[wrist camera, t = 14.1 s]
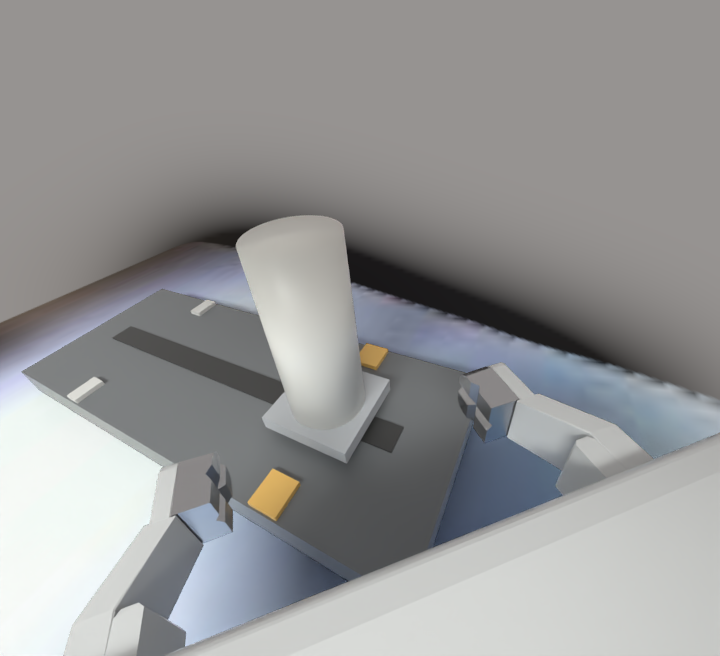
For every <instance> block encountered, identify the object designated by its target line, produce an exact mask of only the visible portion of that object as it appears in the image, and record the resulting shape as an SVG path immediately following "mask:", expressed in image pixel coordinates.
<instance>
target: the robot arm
mask: <svg viewBox="0 0 720 656" xmlns="http://www.w3.org/2000/svg"><path fill="white" fill-rule="evenodd" d="M459 383H460V385H461V386H462V387H461V388H460V390H459V391H458V402H459V406H460V408H461V410H462V412H463V413H464V415H465V416H466V417H467V418H469V419H471V420H473V421H474V425H473V428H474V429H475V431H476V432H477V433H478V435H479V436H480V438H481V439H482V441H483V442H484V443H487V442H490V441H493V440H496V439H499V438H502V437H505V436H507V438H509V439H511V440H512V441H514V442H516V443H517V444H519V445H521V446H522V447H524V448H525V449H527V450H529V451H530V452H532V453H534V454H535V455H537V456H539V457H540V458H542V459H544V460H545V461H547V462H548V463H550V464H552V465H553V466H555V467H557V468H558V469H560V470H562V471H561V473H560V475H559V477H558V479H557V481H556V488H557V489H558V490H559V491H560V493H561V494H562V495H563V496H561V497H558V498H556V499H553V500H551V501H548V502H546V503H543V504H541V505H538V506H536V507H533V508H531V509H528V510H526V511H523V512H521V513H518V514H516V515H513V516H511V517H508V518H506V519H503V520H501V521H498V522H496V523H493V524H491V525H488V526H486V527H483V528H481V529H478V530H476V531H473V532H471V533H468V534H466V535H463V536H461V537H458V538H456V539H453V540H451V541H448V542H446V543H443V544H441V545H438V546H436V547H433V548H431V549H428V550H426V551H423V552H421V553H418V554H416V555H413V556H411V557H408V558H406V559H403V560H401V561H398V562H396V563H393V564H391V565H388V566H386V567H383V568H381V569H378V570H376V571H373V572H371V573H368V574H366V575H363V576H361V577H358V578H356V579H353V580H351V581H348V582H346V583H343V584H341V585H338V586H336V587H333V588H331V589H328V590H326V591H323V592H321V593H318V594H316V595H313V596H311V597H308V598H306V599H303V600H301V601H298V602H296V603H293V604H291V605H288V606H286V607H283V608H281V609H278V610H276V611H273V612H271V613H268V614H266V615H263V616H261V617H258V618H256V619H253V620H251V621H248V622H246V623H243V624H241V625H238V626H236V627H233V628H231V629H228V630H226V631H223V632H221V633H218V634H216V635H213V636H211V637H208V638H206V639H203V640H201V641H199V642H196V643H194V644H191V645H189V646H186V647H185V639H186V632H185V631H184V630H183V629H182V628H181V627H179V626H177V625H176V624H174V623H172V622H171V621H169V620H168V618H169V616H170V614H171V612H172V610H173V608H174V606H175V604H176V602H177V600H178V598H179V596H180V593H181V591H182V589H183V587H184V585H185V583H186V581H187V579H188V577H189V575H190V573H191V571H192V568H193V566H194V564H195V562H196V560H197V558H198V556H199V554H200V552H201V550H202V548H203V546H204V545H203V543H206V542H208V541H211V540H214V539H216V538H219V537H221V536H224V535H227V534H229V533H232V532H233V510H232V508H231V507H230V505H229V504H228V502H229V501H230V499H231V497H232V496H233V493H232V482H231V476H230V473H229V471H228V469H227V467H226V466H225V465H222V464H220V460H221V458H220V456H219V455H218V453H217V452H213V453H210V454H206V455H203V456H199V457H195V458H192V459H188V460H185V461H181V462H178V463H175V464H171V465H168V466H165V467H162V468H161V470H160V472H159V474H158V479H157V484H156V490H155V495H154V501H153V506H152V512H151V517H150V523H149V524H148V525H145V526H143V528H142V529H141V531H140V532H139V533H138V535H137V536H136V537H135V539H134V540H133V542H132V543H131V544H130V546H129V547H128V549H127V550H126V551H125V553H124V554H123V555H122V557H121V558H120V560H119V561H118V562H117V564H116V565H115V567H114V568H113V569H112V571H111V572H110V574H109V575H108V576H107V578H106V579H105V580H104V582H103V583H102V585H101V586H100V587H99V589H98V590H97V592H96V593H95V594H94V596H93V597H92V598H91V600H90V601H89V603H88V604H87V605H86V607H85V608H84V610H83V611H82V612H81V614H80V615H79V616H78V618H77V619H76V621H75V622H74V623H73V625H72V628H71V631H70V634H69V638H68V641H67V645H66V648H65V652H64V655H63V656H720V433H718V434H715V435H713V436H710V437H708V438H705V439H703V440H700V441H698V442H695V443H693V444H690V445H688V446H685V447H683V448H680V449H678V450H675V451H673V452H670V453H668V454H665V455H663V456H660V457H658V458H655V459H653V458H652V457H651V456H650V455H649V454H648V453H647V452H646V451H645V450H643V449H642V448H641V447H640V446H639V445H638V444H637V443H636V442H635V441H634V440H632V439H631V438H630V437H629V436H628V435H627V434H626V433H625V432H624V431H622V430H621V429H620V428H619V427H618V426H617V425H616V424H613V423H611V422H608V421H606V420H603V419H601V418H598V417H596V416H593V415H591V414H588V413H586V412H583V411H581V410H578V409H576V408H573V407H571V406H568V405H566V404H563V403H561V402H558V401H556V400H553V399H551V398H548V397H546V396H543V395H541V394H536V395H535V394H534V393H533V392H532V391H531V390H530V389H529V388H528V387H527V386H526V385H525V384H524V383H523V382H522V381H521V380H520V379H519V378H518V377H517V376H516V375H515V374H514V373H513V372H512V371H511V370H510V369H509V368H508V367H507V366H506V365H505V364H504V363H502V362H501V363H497V364H494V365H491V366H488V367H483V368H480V369H477V370H474V371H471V372H468V373H465V374H462V375H461V376H460V378H459Z"/></svg>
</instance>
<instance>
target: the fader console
mask: <svg viewBox="0 0 720 656" xmlns="http://www.w3.org/2000/svg"><path fill="white" fill-rule="evenodd" d="M358 344H359V352H360V360H361V368H362V371H363V372H366V373H370V374H373V375H376V376H379V377H382V378H385V379H389V380H390V391H389V393H388V394H387V396H386V398H385V399H384V401H383V403H382V405H381V406H380V408H379V410H378V411H377V413H376V415H375V416H374V418H373V420H372V422H371V423H370V425H369V427H368V428H367V430H366V432H365V434H364V435H363V437H362V439H361V440H360V442H359V444H358V445H357V447H356V449H355V451H354V452H353V454H352V456H351V457H350V459H349V461H348V462H347V464H346V463H344V462H342V461H340V460H338V459H335V458H333V457H331V456H329V455H327V454H324V453H322V452H320V451H318V450H316V449H313V448H311V447H309V446H307V445H304V444H302V443H300V442H298V441H296V440H293V439H291V438H289V437H287V436H285V435H282V434H280V433H278V432H276V431H273V430H271V429H269V428H267V427H266V426H265V424H264V422H263V419H262V417H263V416H264V414H265V413H266V412H267V411H268V410H269V409H270V408H271V406H272V405H273V404H274V403H275V402H276V401H277V400H278V398H279V397H280V396H281V395H282V394H283V393H284V392H285V391H284V388H283V385H282V382H281V379H280V376H279V373H278V370H277V367H276V364H275V361H274V358H273V355H272V352H271V349H270V346H269V343H268V341H267V338H266V335H265V332H264V329H263V326H262V323H261V320H260V317H259V315H255V314H251V313H248V312H244V311H241V310H237V309H233V308H230V307H226V306H222V305H219V304H216V303H215V302H214V301H210V300H206V301H204V300H201V299H197V298H193V297H190V296H186V295H183V294H179V293H175V292H172V291H168V290H164V289H161V290H159V291H157V292H156V293H154V294H152V295H151V296H149V297H147V298H146V299H144V300H142V301H141V302H139V303H137V304H135V305H134V306H132V307H130V308H129V309H127V310H125V311H124V312H122V313H120V314H118V315H117V316H115V317H113V318H112V319H110V320H108V321H107V322H105V323H103V324H101V325H100V326H98V327H96V328H95V329H93V330H91V331H90V332H88V333H86V334H85V335H83V336H81V337H79V338H78V339H76V340H74V341H73V342H71V343H69V344H68V345H66V346H64V347H62V348H61V349H59V350H57V351H56V352H54V353H52V354H51V355H49V356H47V357H45V358H44V359H42V360H40V361H39V362H37V363H35V364H34V365H32V366H30V367H29V368H27V369H25V370H23V371H22V373H23V374H24V375H25V376H26V377H27V378H28V379H29V380H30V381H31V382H32V383H33V384H34V385H35V386H36V387H37V388H38V389H39V390H40V391H41V392H43V393H45V394H46V395H48V396H49V397H51V398H53V399H54V400H56V401H57V402H59V403H61V404H62V405H64V406H66V407H67V408H69V409H70V410H72V411H74V412H75V413H77V414H79V415H80V416H82V417H83V418H85V419H87V420H88V421H90V422H91V423H93V424H95V425H96V426H98V427H100V428H101V429H103V430H104V431H106V432H108V433H109V434H111V435H113V436H114V437H116V438H117V439H119V440H121V441H122V442H124V443H125V444H127V445H129V446H130V447H132V448H134V449H135V450H137V451H138V452H140V453H142V454H143V455H145V456H147V457H148V458H150V459H151V460H153V461H155V462H156V463H158V464H159V465H161V466H163V467H165V466H168V465H171V464H175V463H178V462H181V461H185V460H188V459H192V458H195V457H199V456H203V455H206V454H210V453H213V452H217V453H218V455H219V456H220V458H221V460H220V464H222V465H225V466H226V467H227V469H228V471H229V473H230V476H231V482H232V493H233V496H232V497H231V499H230V501H229V502H228V504H229V505H230V507H231V508H232V510H234V511H236V512H237V513H239V514H240V515H242V516H244V517H245V518H247V519H249V520H250V521H252V522H253V523H255V524H257V525H258V526H260V527H262V528H263V529H265V530H266V531H268V532H270V533H271V534H273V535H274V536H276V537H278V538H279V539H281V540H283V541H284V542H286V543H287V544H289V545H291V546H292V547H294V548H296V549H297V550H299V551H300V552H302V553H304V554H305V555H307V556H308V557H310V558H312V559H313V560H315V561H317V562H318V563H320V564H321V565H323V566H325V567H326V568H328V569H330V570H331V571H333V572H334V573H336V574H338V575H339V576H341V577H342V578H344V579H346V580H347V581H351V580H353V579H356V578H358V577H361V576H363V575H366V574H368V573H371V572H373V571H376V570H378V569H381V568H383V567H386V566H388V565H391V564H393V563H396V562H398V561H401V560H403V559H406V558H408V557H411V556H413V555H416V554H418V553H421V552H423V551H426V550H428V549H431V548H433V545H434V542H435V539H436V536H437V532H438V529H439V526H440V523H441V520H442V517H443V514H444V511H445V508H446V505H447V502H448V499H449V496H450V493H451V490H452V486H453V483H454V480H455V477H456V474H457V471H458V468H459V465H460V462H461V459H462V456H463V453H464V450H465V447H466V444H467V440H468V437H469V434H470V431H471V428H472V425H473V422H474V421H473V420H471V419H469V418H467V417H466V416H465V415H464V413H463V412H462V410H461V408H460V406H459V402H458V391H459V390H460V388H461V387H462V386H461V385H460V383H459V378H460V376H461V375H462V374H465V372H461V371H458V370H454V369H451V368H447V367H443V366H440V365H436V364H432V363H429V362H425V361H422V360H418V359H414V358H411V357H407V356H404V355H400V354H396V353H393V352H389V351H388V349H386V348H382V347H379V346H375V345H371V344H368V343H366V345H364V344H360V343H358Z"/></svg>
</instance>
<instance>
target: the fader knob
mask: <svg viewBox="0 0 720 656" xmlns="http://www.w3.org/2000/svg"><path fill="white" fill-rule="evenodd" d="M236 249H237V252H238V255H239V258H240V261H241V264H242V267H243V270H244V273H245V276H246V279H247V282H248V285H249V288H250V291H251V293H252V296H253V299H254V302H255V305H256V308H257V311H258V314H259V317H260V320H261V323H262V326H263V329H264V332H265V335H266V338H267V341H268V343H269V346H270V349H271V352H272V355H273V358H274V361H275V364H276V367H277V370H278V373H279V376H280V379H281V382H282V385H283V388H284V391H285V392H284V393H283V394H282V395H281V396H280V397H279V398H278V400H277V401H276V402H275V403H274V404H273V405H272V406H271V408H270V409H269V410H268V411H267V412H266V413H265V414H264V416H263V417H262V419H263V422H264V424H265V426H266V427H267V428H269V429H271V430H273V431H276V432H278V433H280V434H282V435H285V436H287V437H289V438H291V439H293V440H296V441H298V442H300V443H302V444H304V445H307V446H309V447H311V448H313V449H316V450H318V451H320V452H322V453H324V454H327V455H329V456H331V457H333V458H335V459H338V460H340V461H342V462H344V463H346V464H347V462H348V461H349V459H350V457H351V456H352V454H353V452H354V451H355V449H356V447H357V445H358V444H359V442H360V440H361V439H362V437H363V435H364V434H365V432H366V430H367V428H368V427H369V425H370V423H371V422H372V420H373V418H374V416H375V415H376V413H377V411H378V410H379V408H380V406H381V405H382V403H383V401H384V399H385V398H386V396H387V394H388V393H389V391H390V380H389V379H385V378H382V377H379V376H376V375H373V374H370V373H366V372H363V371H362V368H361V360H360V352H359V344H358V336H357V329H356V321H355V313H354V305H353V298H352V290H351V282H350V274H349V267H348V259H347V251H346V244H345V236H344V229H343V225H342V224H341V223H340V222H339V221H337V220H335V219H333V218H330V217H326V216H318V215H301V216H291V217H285V218H280V219H277V220H273V221H269V222H266V223H264V224H261V225H259V226H256V227H254V228H252V229H250V230H249V231H247V232H246V233H244V234H243V235H242V236H241V237H240V238H239V239H238V241H237V243H236Z"/></svg>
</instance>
